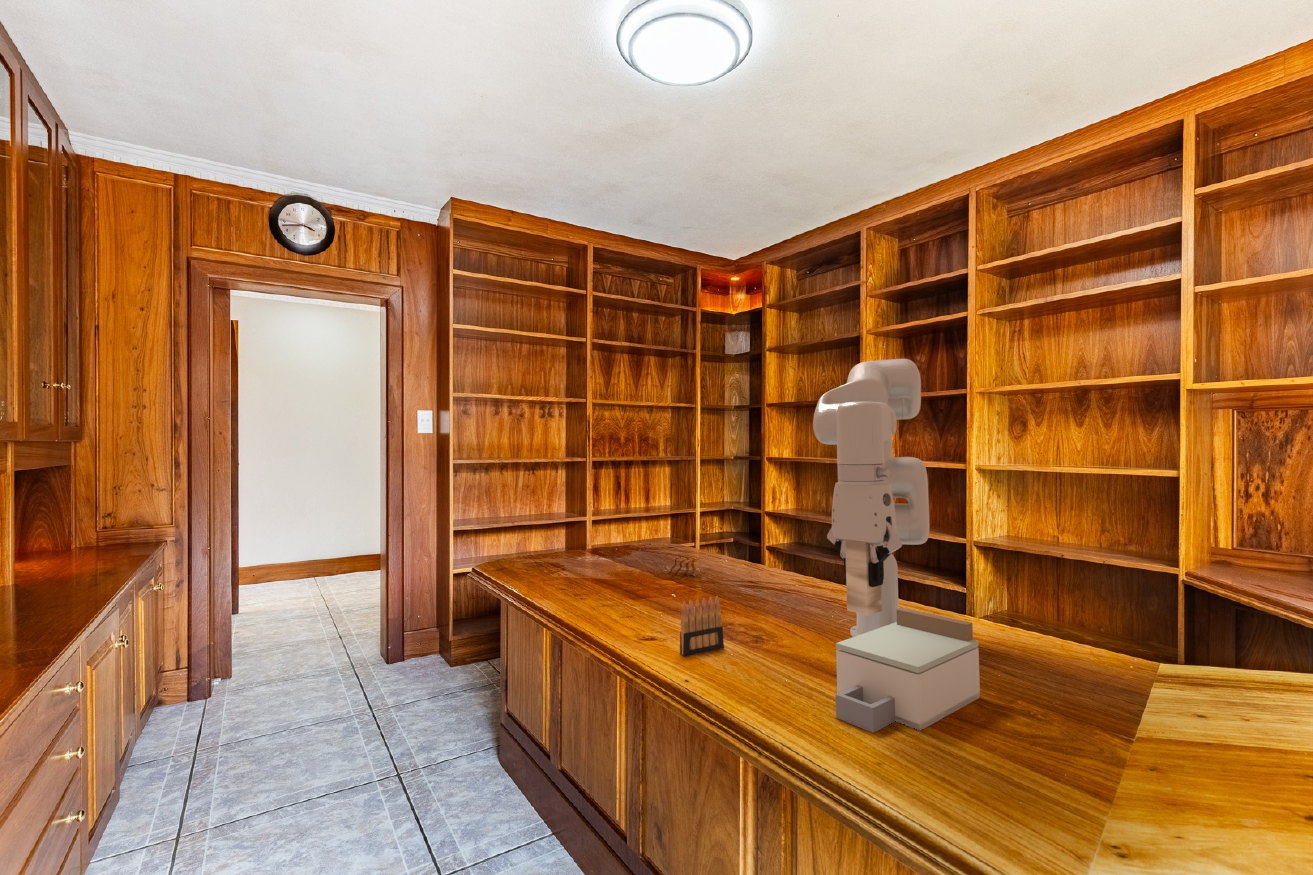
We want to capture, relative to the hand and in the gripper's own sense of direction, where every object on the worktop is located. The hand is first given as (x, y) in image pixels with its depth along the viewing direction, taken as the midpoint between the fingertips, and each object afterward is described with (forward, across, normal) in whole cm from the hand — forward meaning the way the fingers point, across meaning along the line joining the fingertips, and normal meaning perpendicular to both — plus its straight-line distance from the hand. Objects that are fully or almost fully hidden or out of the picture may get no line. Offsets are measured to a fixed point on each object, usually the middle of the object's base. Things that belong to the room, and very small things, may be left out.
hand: (863, 582), depth 106 cm
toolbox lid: (+14, 0, -13) cm, 19 cm away
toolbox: (+23, 0, -10) cm, 25 cm away
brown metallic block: (+5, 0, 0) cm, 5 cm away
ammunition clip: (+23, +44, -2) cm, 50 cm away
